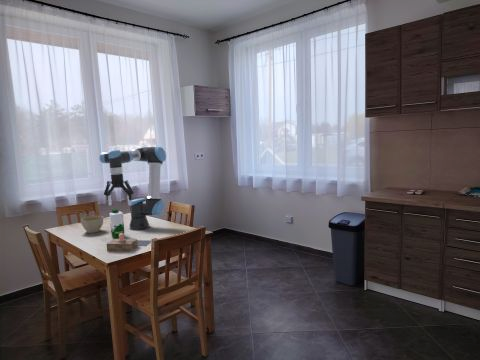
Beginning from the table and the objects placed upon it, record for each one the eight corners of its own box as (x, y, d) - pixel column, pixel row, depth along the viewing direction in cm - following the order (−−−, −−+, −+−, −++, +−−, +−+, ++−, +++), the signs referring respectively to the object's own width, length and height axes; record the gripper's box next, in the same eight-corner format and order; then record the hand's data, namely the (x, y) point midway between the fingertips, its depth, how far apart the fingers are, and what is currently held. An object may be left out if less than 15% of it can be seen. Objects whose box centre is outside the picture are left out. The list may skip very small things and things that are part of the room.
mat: (137, 240, 232) (137, 240, 232) (153, 241, 231) (153, 240, 231) (129, 246, 221) (129, 245, 221) (146, 246, 219) (146, 246, 219)
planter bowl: (96, 234, 251) (95, 220, 250) (77, 234, 254) (76, 220, 253) (108, 229, 267) (107, 215, 265) (90, 228, 270) (89, 215, 269)
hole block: (115, 246, 222) (114, 238, 222) (137, 246, 220) (137, 239, 219) (107, 251, 213) (106, 243, 212) (130, 251, 210) (129, 244, 209)
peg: (121, 248, 218) (120, 233, 217) (125, 248, 217) (124, 233, 216) (119, 249, 215) (117, 234, 214) (123, 249, 214) (122, 234, 213)
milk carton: (122, 234, 250) (120, 208, 247) (126, 237, 242) (124, 210, 240) (110, 236, 244) (108, 210, 242) (113, 239, 237) (111, 212, 235)
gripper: (95, 174, 218) (99, 206, 221) (132, 174, 215) (135, 206, 218) (102, 173, 225) (105, 203, 229) (137, 172, 222) (140, 203, 225)
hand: (119, 205), depth 223 cm, fingers open, 13 cm apart
